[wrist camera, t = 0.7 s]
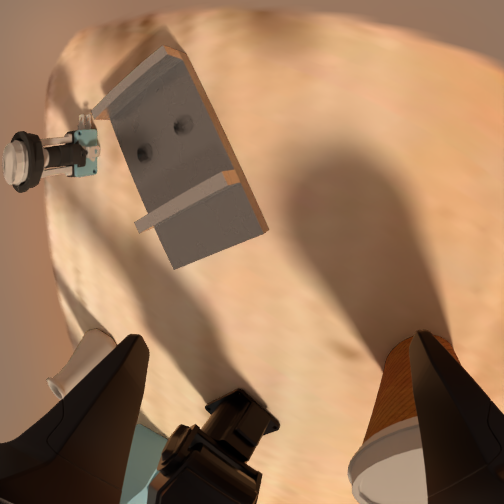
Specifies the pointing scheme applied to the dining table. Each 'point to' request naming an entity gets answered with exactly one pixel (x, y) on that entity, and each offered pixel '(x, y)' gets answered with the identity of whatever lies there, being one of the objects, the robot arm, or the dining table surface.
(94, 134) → the push button
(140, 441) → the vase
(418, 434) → the disposable coffee cup
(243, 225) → the bracket
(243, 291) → the dining table surface
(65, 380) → the flask
